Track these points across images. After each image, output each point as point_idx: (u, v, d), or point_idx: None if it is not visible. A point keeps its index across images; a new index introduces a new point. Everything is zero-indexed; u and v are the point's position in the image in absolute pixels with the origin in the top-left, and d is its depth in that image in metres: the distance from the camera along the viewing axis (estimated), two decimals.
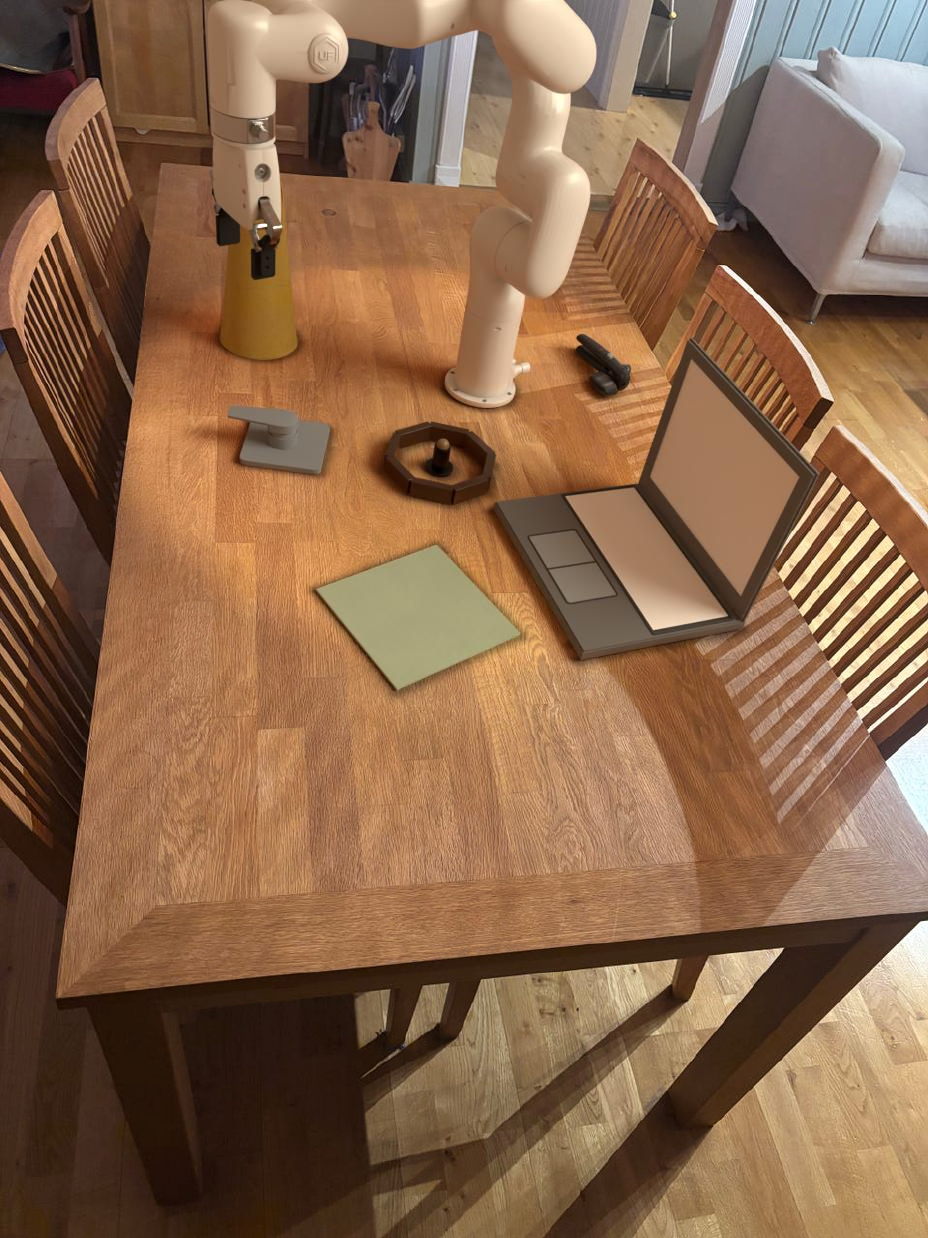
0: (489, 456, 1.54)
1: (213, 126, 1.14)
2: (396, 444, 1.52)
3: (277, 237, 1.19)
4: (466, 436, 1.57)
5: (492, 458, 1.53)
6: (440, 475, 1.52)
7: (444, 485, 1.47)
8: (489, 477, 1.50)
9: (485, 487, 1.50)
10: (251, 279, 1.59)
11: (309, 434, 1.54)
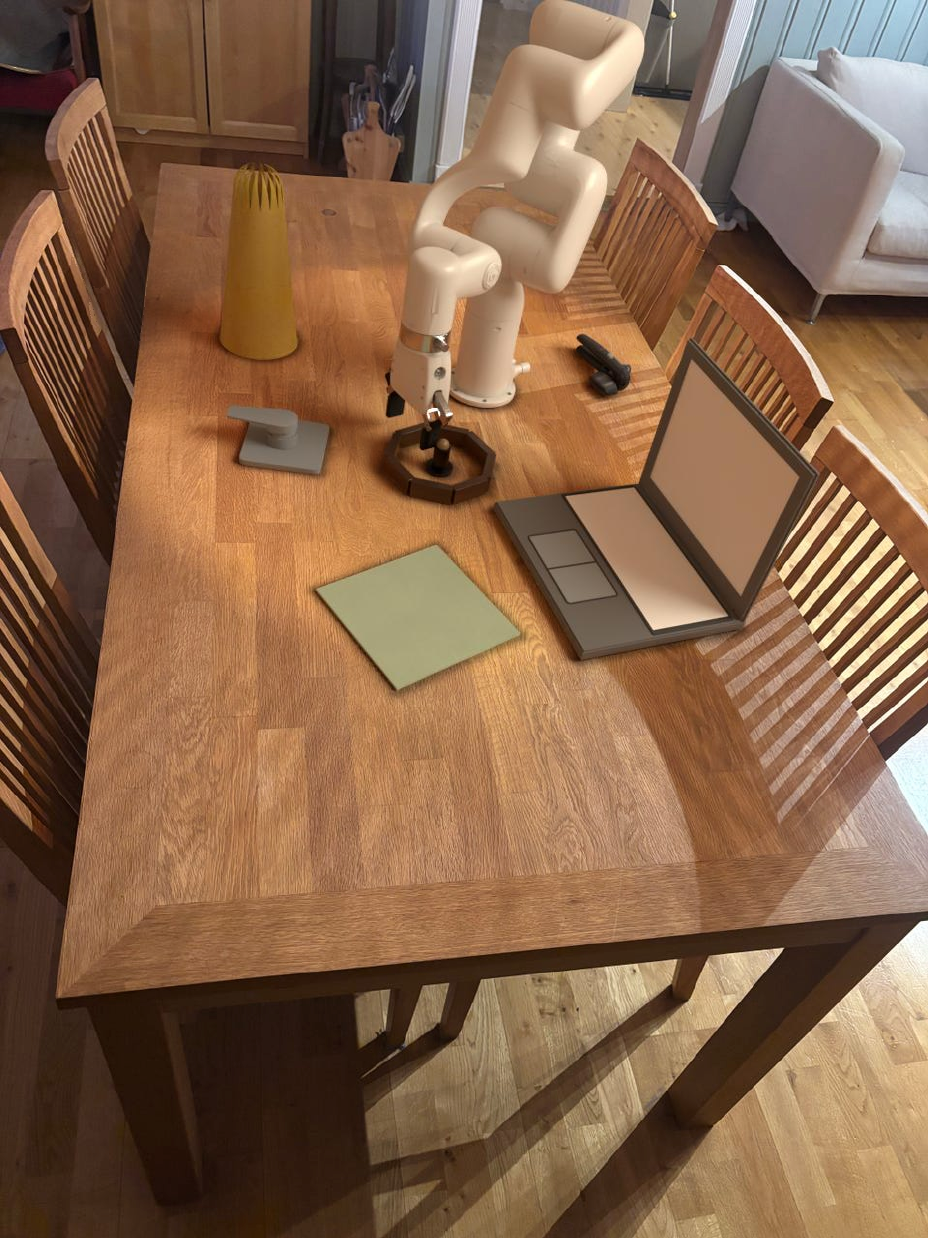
0: (489, 456, 1.54)
1: (403, 338, 1.42)
2: (396, 444, 1.52)
3: (447, 421, 1.47)
4: (466, 436, 1.57)
5: (492, 458, 1.53)
6: (440, 475, 1.52)
7: (444, 485, 1.47)
8: (489, 477, 1.50)
9: (485, 487, 1.50)
10: (251, 279, 1.59)
11: (308, 434, 1.54)
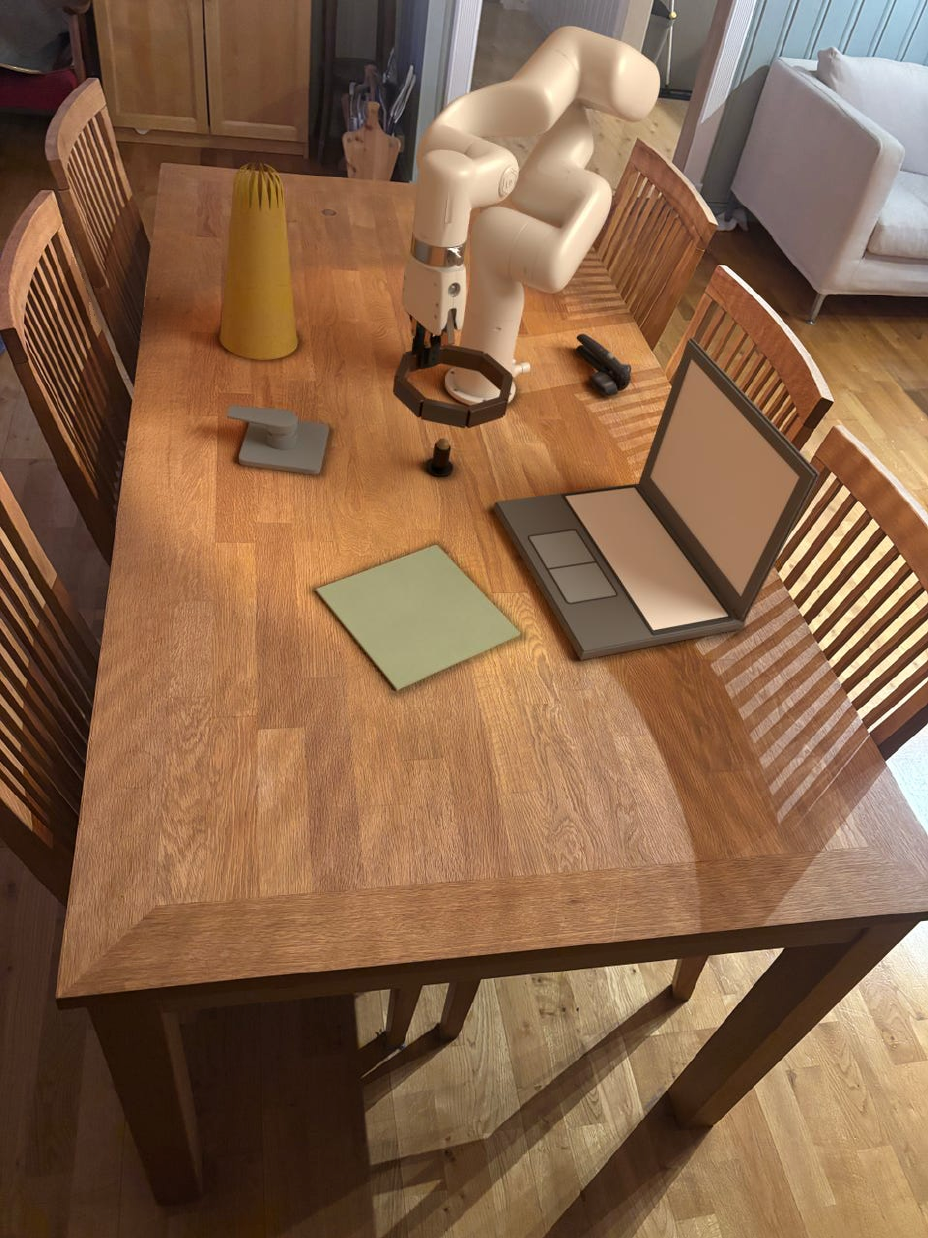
0: (505, 378, 1.44)
1: (414, 252, 1.33)
2: (406, 365, 1.42)
3: None
4: (481, 358, 1.48)
5: (509, 380, 1.44)
6: (440, 475, 1.52)
7: (458, 407, 1.37)
8: (506, 399, 1.40)
9: (502, 410, 1.41)
10: (251, 279, 1.59)
11: (308, 434, 1.54)
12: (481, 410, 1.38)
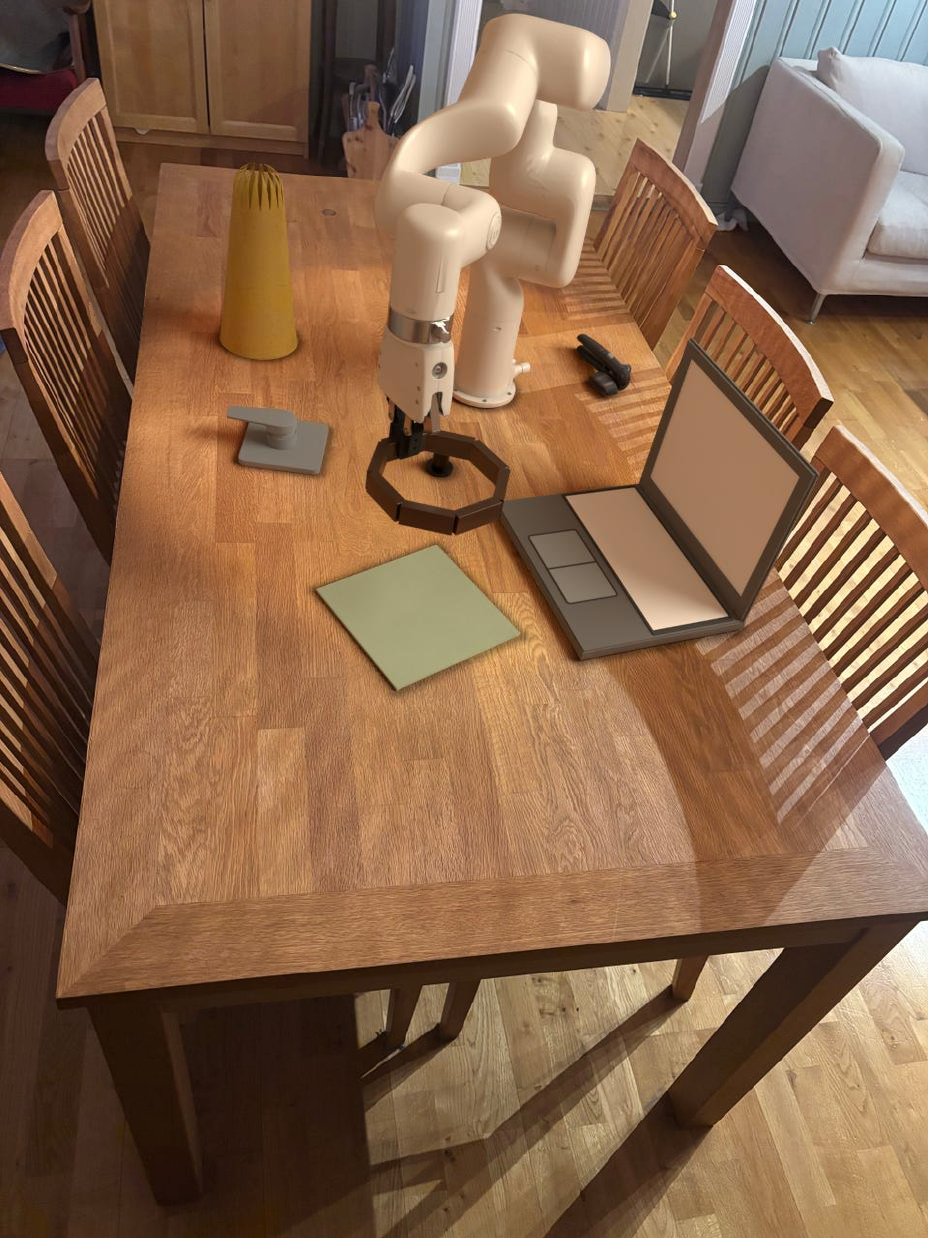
0: (501, 472, 1.20)
1: (391, 325, 1.09)
2: (382, 457, 1.18)
3: None
4: (472, 446, 1.23)
5: (506, 474, 1.19)
6: (440, 475, 1.52)
7: (444, 511, 1.13)
8: (502, 500, 1.16)
9: (497, 512, 1.16)
10: (251, 279, 1.59)
11: (308, 434, 1.54)
12: (471, 514, 1.13)
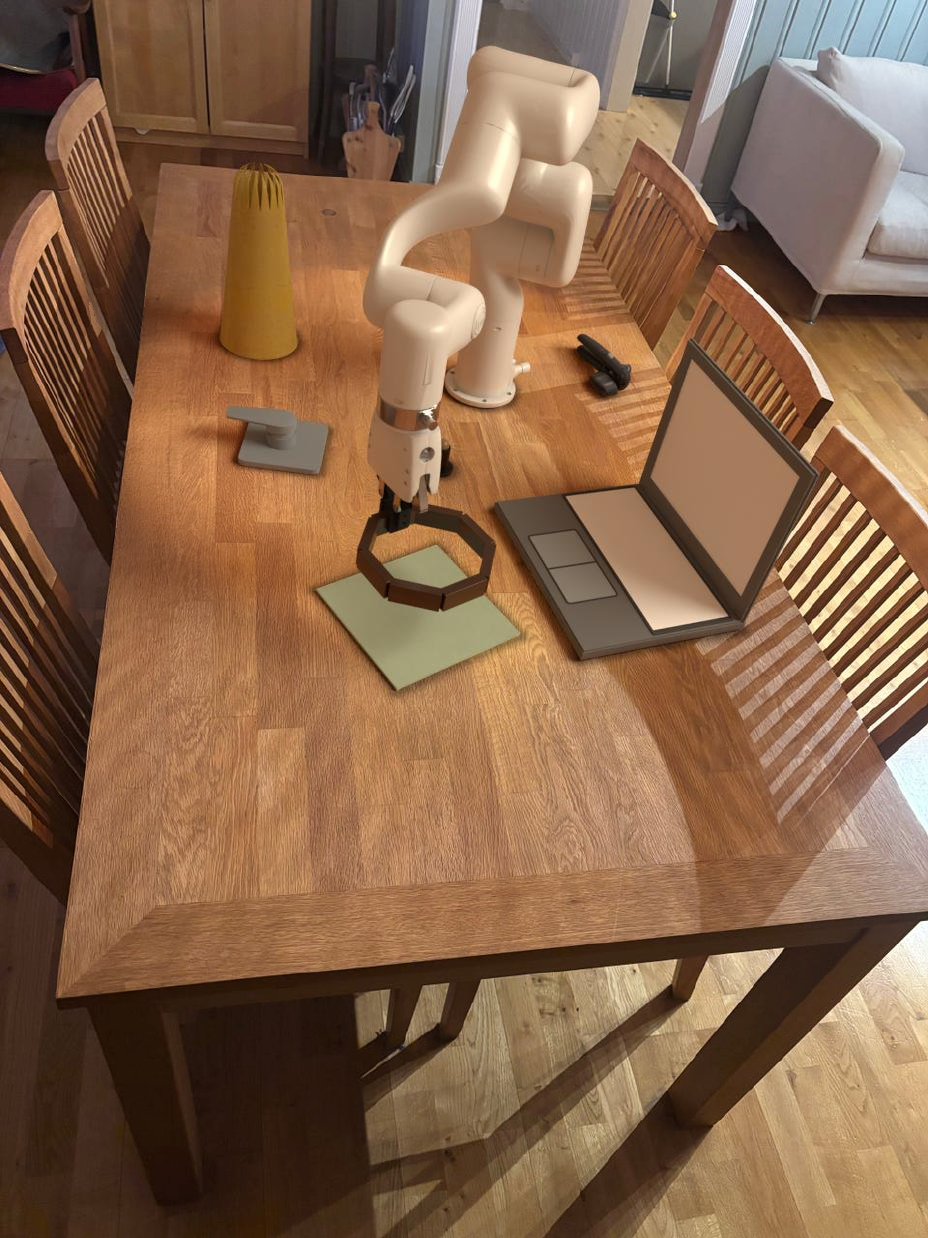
0: (487, 547, 1.24)
1: (380, 413, 1.13)
2: (372, 533, 1.22)
3: None
4: (459, 520, 1.28)
5: (491, 550, 1.24)
6: (440, 475, 1.52)
7: (431, 589, 1.17)
8: (487, 576, 1.20)
9: (482, 588, 1.20)
10: (251, 279, 1.59)
11: (307, 434, 1.54)
12: (458, 592, 1.17)
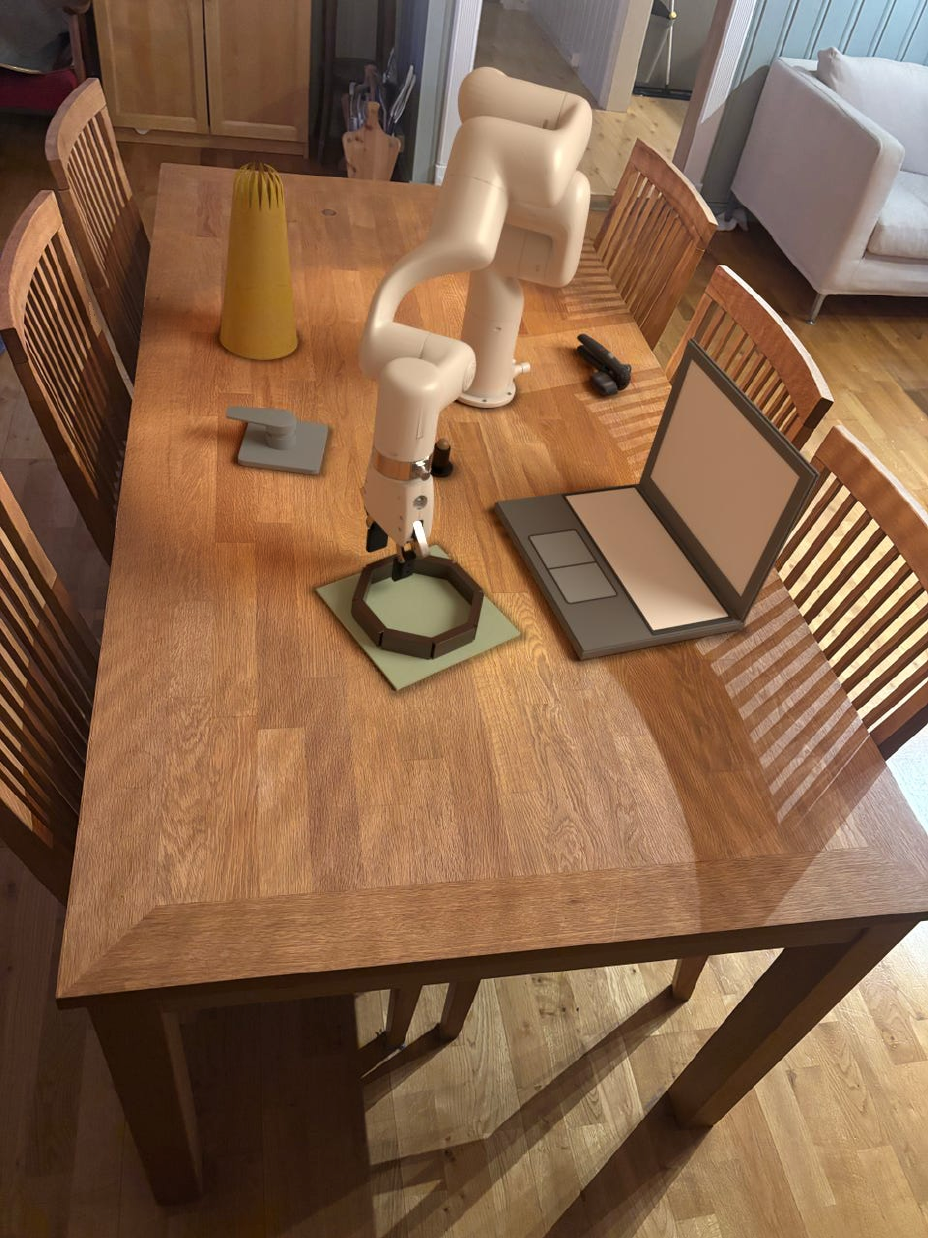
0: (476, 595, 1.30)
1: (375, 463, 1.18)
2: (366, 583, 1.29)
3: None
4: (449, 568, 1.34)
5: (480, 598, 1.30)
6: (440, 475, 1.52)
7: (422, 639, 1.23)
8: (476, 625, 1.27)
9: (471, 636, 1.27)
10: (251, 279, 1.59)
11: (307, 434, 1.54)
12: (447, 641, 1.24)
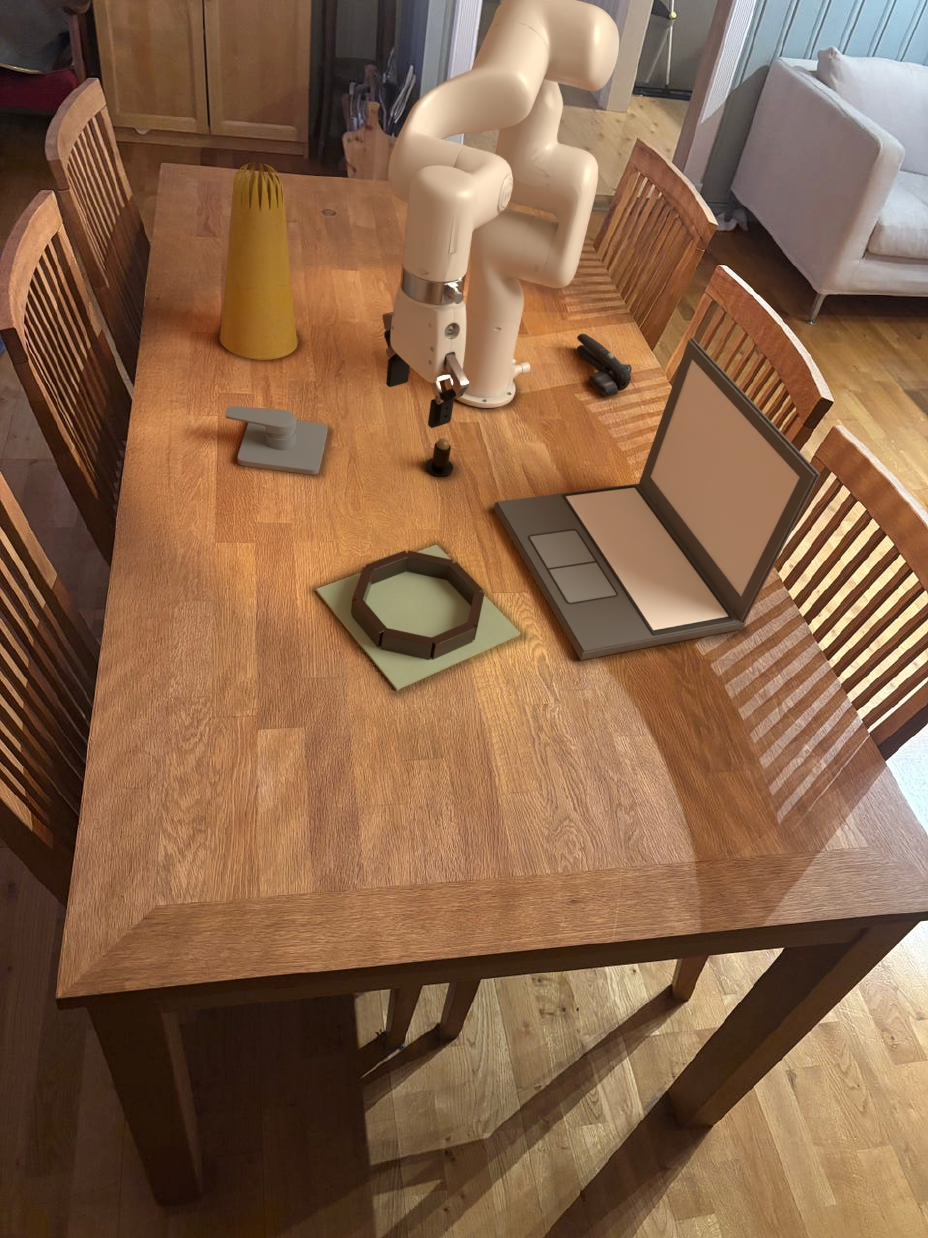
0: (476, 595, 1.30)
1: (404, 286, 1.12)
2: (366, 583, 1.29)
3: (462, 392, 1.17)
4: (449, 568, 1.34)
5: (480, 598, 1.30)
6: (440, 475, 1.52)
7: (422, 639, 1.23)
8: (476, 625, 1.27)
9: (471, 636, 1.27)
10: (251, 279, 1.59)
11: (307, 434, 1.54)
12: (447, 641, 1.24)
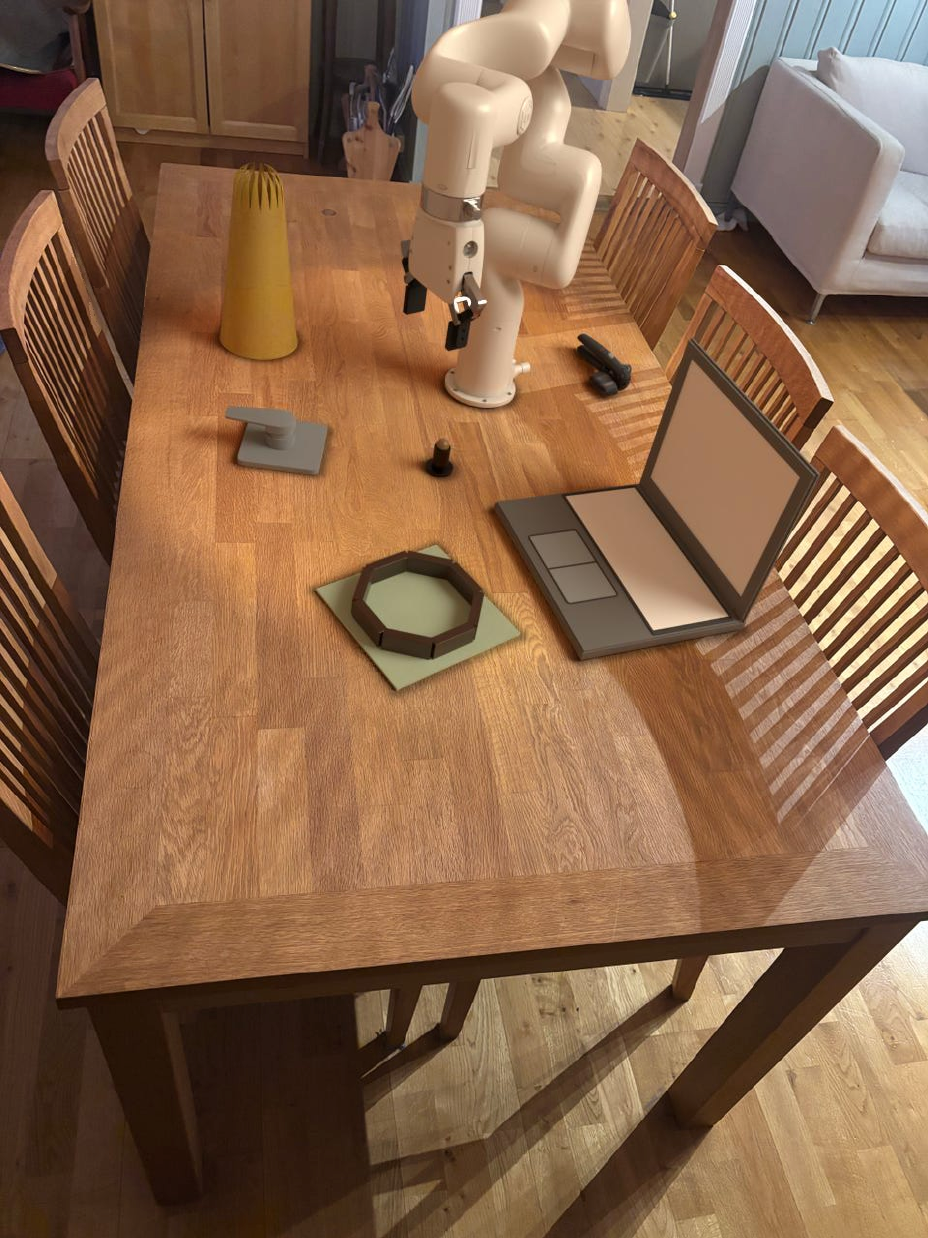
0: (476, 595, 1.30)
1: (424, 204, 1.14)
2: (366, 583, 1.29)
3: (479, 312, 1.19)
4: (449, 568, 1.34)
5: (480, 598, 1.30)
6: (440, 475, 1.52)
7: (422, 639, 1.23)
8: (476, 625, 1.27)
9: (471, 636, 1.27)
10: (251, 279, 1.59)
11: (307, 434, 1.54)
12: (447, 641, 1.24)
